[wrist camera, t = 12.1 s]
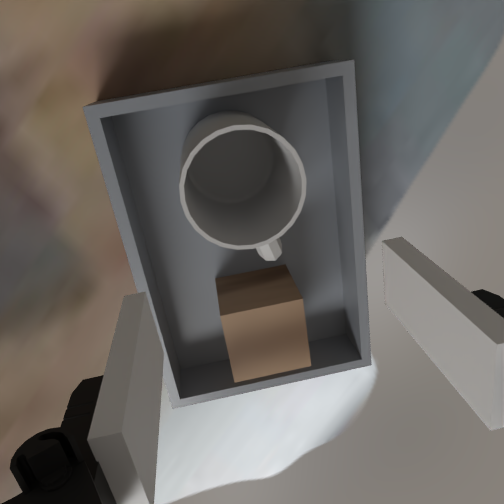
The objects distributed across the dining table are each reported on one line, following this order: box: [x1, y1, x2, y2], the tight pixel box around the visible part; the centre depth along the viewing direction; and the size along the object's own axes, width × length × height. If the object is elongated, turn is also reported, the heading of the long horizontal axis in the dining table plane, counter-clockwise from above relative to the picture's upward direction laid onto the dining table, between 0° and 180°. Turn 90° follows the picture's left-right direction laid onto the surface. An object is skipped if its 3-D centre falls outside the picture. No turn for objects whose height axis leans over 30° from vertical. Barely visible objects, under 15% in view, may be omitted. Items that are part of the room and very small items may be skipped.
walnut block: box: [215, 264, 311, 383], centre depth 35 cm, size 6×6×6 cm
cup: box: [179, 111, 306, 261], centre depth 30 cm, size 7×10×9 cm
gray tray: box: [83, 60, 371, 409], centre depth 34 cm, size 24×17×4 cm
